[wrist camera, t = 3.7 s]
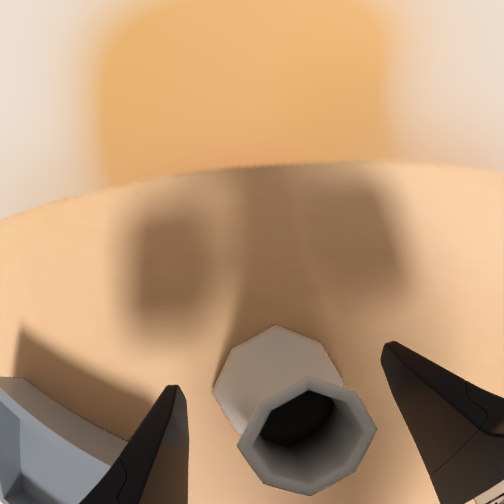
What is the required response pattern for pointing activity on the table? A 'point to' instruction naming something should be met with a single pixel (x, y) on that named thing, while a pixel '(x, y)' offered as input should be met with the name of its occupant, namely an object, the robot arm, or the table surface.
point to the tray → (48, 448)
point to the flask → (293, 412)
